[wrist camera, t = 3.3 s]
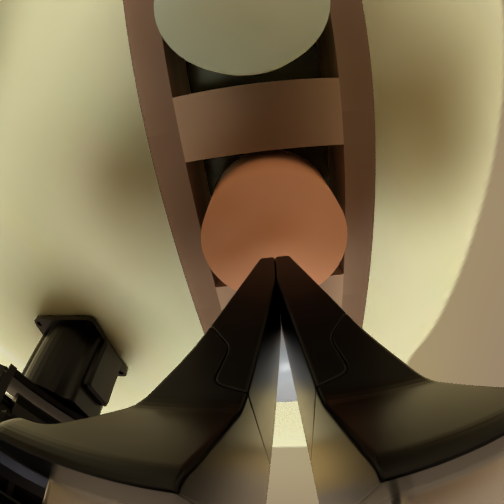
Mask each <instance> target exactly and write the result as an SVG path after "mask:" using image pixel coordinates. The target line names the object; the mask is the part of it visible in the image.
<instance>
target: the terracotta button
mask: <svg viewBox="0 0 504 504" xmlns="http://www.w3.org/2000/svg"><path fill="white" fill-rule="evenodd" d="M347 236H348V234H347V224H346V219H345V216H344V213H343V211H342V209H341V207H340V205H339V203H338V202H337V200H336V198H335V196H334V195H333V193H332V191H331V190H330V188H329V186H328V185H327V183H326V181H325V180H324V178H323V177H322V175H321V173H320V172H319V171H318V170H317V168H316V167H315V166H314V165H312V164H311V163H310V162H309V161H307V160H306V159H305V158H303V157H301V156H299V155H297V154H294V153H292V152H289V151H284V150H268V151H260V152H252V153H249V154H247V155H245V156H242V157H241V158H239V159H237V160H236V161H234V162H233V163H232V164H231V165H230V166H229V167H228V168H227V169H226V170H225V171H224V172H223V174H222V175H221V177H220V178H219V180H218V182H217V184H216V187H215V189H214V192H213V195H212V197H211V200H210V203H209V206H208V208H207V211H206V214H205V217H204V220H203V224H202V229H201V245H202V251H203V254H204V257H205V259H206V261H207V263H208V265H209V267H210V268H211V270H212V271H213V273H214V274H215V275H216V276H217V277H218V278H219V279H220V280H221V281H222V282H223V283H225V284H226V285H227V286H229V287H230V288H232V289H234V290H236V291H237V290H238V289H239V287H240V286H241V284H242V283H243V282H244V280H245V279H246V278H247V276H248V275H249V274H250V272H251V271H252V269H253V268H254V267H255V265H256V264H257V263H258V261H259V260H260V259H261V258H269V257H273V258H274V259H275V258H276V257H278V256H290V257H291V258H292V259H293V260H294V261H295V262H296V263H297V264H298V265H299V266H300V267H301V268H302V269H303V270H304V271H305V272H306V273H307V274H308V275H309V276H310V277H311V278H312V279H313V280H314V281H315V282H316V283H317V284H318V285H320V284H321V283H323V282H324V281H325V280H326V279H327V278H328V277H329V276H330V275H331V274H332V273H333V272H334V271H335V269H336V268H337V267H338V265H339V263H340V261H341V260H342V257H343V255H344V252H345V249H346V245H347Z"/></svg>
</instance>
